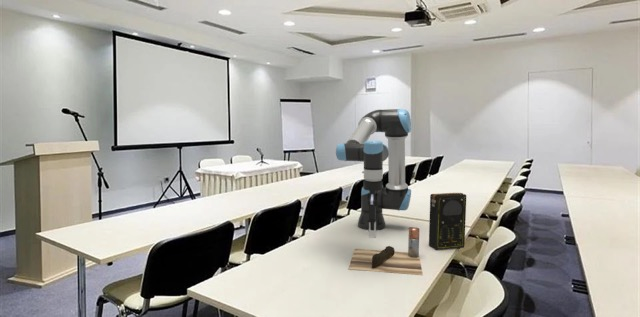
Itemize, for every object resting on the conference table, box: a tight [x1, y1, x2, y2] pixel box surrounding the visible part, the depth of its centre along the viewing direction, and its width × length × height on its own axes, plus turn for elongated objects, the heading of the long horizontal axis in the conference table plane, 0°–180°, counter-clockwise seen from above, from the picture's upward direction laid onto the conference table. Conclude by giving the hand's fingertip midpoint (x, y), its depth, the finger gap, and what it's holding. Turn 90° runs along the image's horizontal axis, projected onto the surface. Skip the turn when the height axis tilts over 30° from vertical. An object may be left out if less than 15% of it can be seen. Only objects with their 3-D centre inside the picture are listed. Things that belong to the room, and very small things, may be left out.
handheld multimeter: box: [428, 192, 467, 251], centre depth 168 cm, size 16×9×25 cm, turn 105°
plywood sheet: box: [347, 248, 424, 276], centre depth 151 cm, size 24×28×1 cm
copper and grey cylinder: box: [407, 226, 420, 258], centre depth 156 cm, size 4×4×12 cm
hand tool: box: [372, 245, 396, 268], centre depth 150 cm, size 19×4×5 cm, turn 145°
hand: (372, 237), depth 149 cm, fingers closed
